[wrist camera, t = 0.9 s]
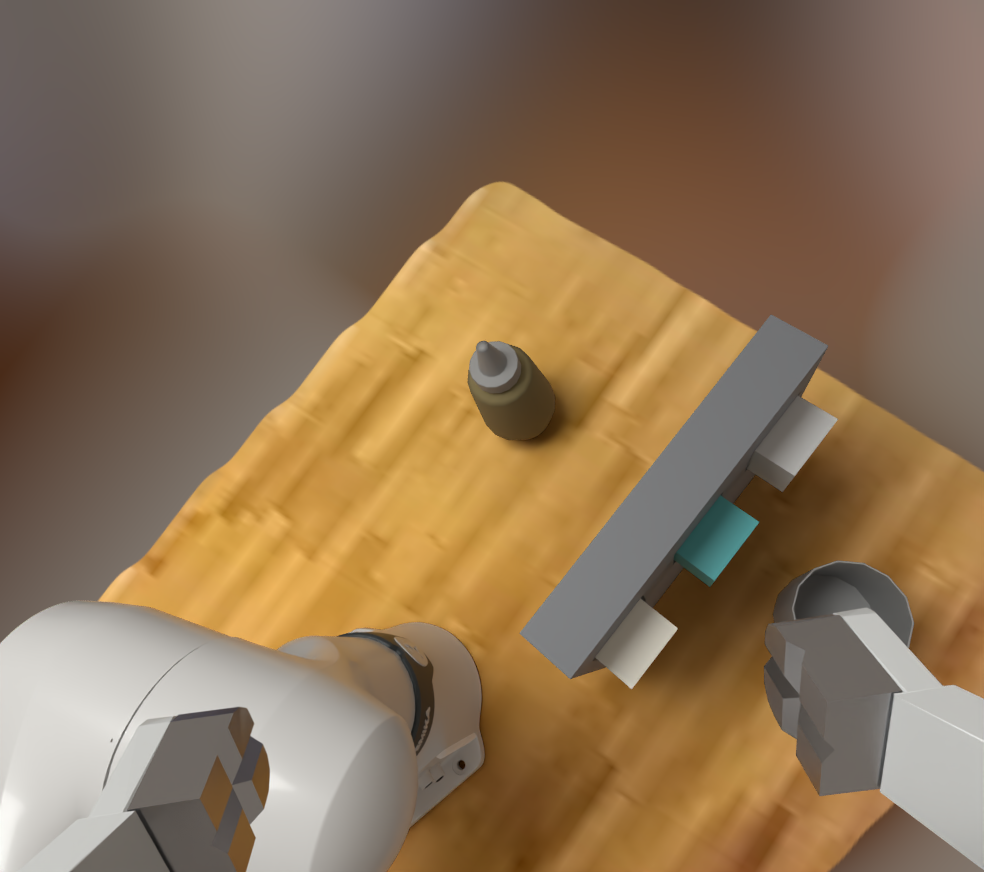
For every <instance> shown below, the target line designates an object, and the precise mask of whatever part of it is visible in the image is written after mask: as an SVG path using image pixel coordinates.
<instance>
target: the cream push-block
mask: <svg viewBox="0 0 984 872" xmlns="http://www.w3.org/2000/svg"><path fill="white" fill-rule="evenodd" d="M677 629H678V628H677V627H676V626H674V625H673V624H672V623H671V622H669V621H668V620H667V619H666V618H664V617H663V616H662V615H661V614H659V613H658V612H657V611H656V610H654V609H653V608H652V607H651V606H649V605H648V604H647V603H646V602H644V601H643V600H642V599H641V598H640V600H639V601H638V602H637V604H636V605H635V606H634V608H633V609H632V610H631V611H630V613H629V614H628V615H627V617H626V618H625V619H624V620H623V622H622V623H621V624H620V626H619V627H618V628H617V629H616V631H615V632H614V633H613V635H612V636H611V637H610V638H609V640H608V641H607V642H606V644H605V645H604V646H603V648H602V649H601V650H600V651H599V653H598V654H597V655H596V657H595V658H596V659H598V660H599V661H600V662H601V663H602V664H603V665H604V666H606V667H607V668H608V669H609V670H610V671H611V672H613V673H614V674H615V675H616V676H617V677H618V678H619V679H621V680H622V681H623V682H624V683H625V684H626V685H627V686H629V687H630V688H631V689H632V688H633V687H634V686H635V684H636V683H637V682H638V681H639V679H640V678H641V677H642V675H643V674H644V673H645V671H646V670H647V669H648V667H649V666H650V665H651V664H652V662H653V661H654V660H655V658H656V657H657V656H658V654H659V653H660V652H661V650H662V649H663V648H664V647H665V645H666V644H667V643H668V641H669V640H670V639H671V637H672V636H673V635H674V633H675V632H676V631H677Z"/></svg>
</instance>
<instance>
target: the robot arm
mask: <svg viewBox="0 0 984 872" xmlns="http://www.w3.org/2000/svg"><path fill="white" fill-rule="evenodd" d="M765 645H766V647H767V649H768V650H769V652H770V654H771V655H772V657H771V658H770V660H769V661H768V662H767V663H766V665H765V666H764V684H765V689H766V693H767V698H768V702H769V704H770V707H771V709H772V712H773V714H774V716H775V718H776V720H777V722H778V724H779V726H780V728H781V729H782V730H783V731H784V732H786V733H788V734H789V735H791V736H792V737H794V738H796V739H797V748H796V756H797V758H798V760H799V761H800V763H801V765H802V767H803V768H804V770H805V772H806V774H807V775H808V777H809V779H810V781H811V782H812V784H813V786H814V788H815V789H816V791H817V793H818V795H819V796H824V795H832V794H841V793H849V792H857V791H865V790H873V789H880V792H881V793H882V794H883V795H885V796H886V797H887V798H889V799H890V800H891V801H893V802H894V803H895V804H897V805H898V806H899V807H901V808H902V809H903V810H905V811H906V812H907V813H909V814H910V815H911V816H913V817H914V818H915V819H917V820H918V821H919V822H921V823H922V824H923V825H925V826H926V827H927V828H929V829H930V830H931V831H933V832H934V833H935V834H937V835H938V836H939V837H941V838H942V839H943V840H945V841H946V842H947V843H948V844H950V845H951V846H952V847H954V848H955V849H956V850H958V851H959V852H961V853H962V854H963V855H964V856H966V857H967V858H968V859H970V860H971V861H973V862H974V863H975V864H976V865H978V866H979V867H980V868H982V869H983V870H984V699H983V698H981V697H979V696H977V695H974V694H972V693H970V692H968V691H966V690H964V689H962V688H959V687H957V686H955V685H949V686H943V685H942V684H941V683H940V682H939V681H938V680H937V679H936V678H935V677H934V676H933V674H932V673H931V672H930V671H929V670H928V669H927V668H926V667H925V666H924V665H923V664H922V662H921V661H920V660H919V659H918V658H917V657H916V656H915V655H914V654H913V653H912V652H911V651H910V649H909V648H908V647H907V646H906V645H905V644H904V643H903V642H902V641H901V640H900V639H899V637H898V636H897V635H896V634H895V633H894V632H893V631H892V630H891V629H890V628H889V627H888V626H887V624H886V623H885V622H884V621H883V620H882V619H881V618H880V617H879V616H878V615H877V614H876V612H875V611H873V610H871V609H869V608H861V609H855V610H849V611H843V612H837V613H834V614H826V615H820V616H814V617H808V618H802V619H796V620H790V621H784V622H778V623H772V624H768V626H767V629H766V631H765ZM481 700H482V694H481V684H480V679H479V675H478V671H477V668H476V666H475V663H474V661H473V659H472V657H471V655H470V654H469V652H468V651H467V649H466V648H465V647H464V645H463V644H462V643H461V642H460V641H459V640H458V639H457V638H456V637H455V636H453V635H452V634H451V633H449V632H448V631H446V630H444V629H442V628H440V627H438V626H435V625H432V624H427V623H420V622H413V623H405V624H401V625H397V626H394V627H391V628H388V629H383V630H379V629H372V628H359V629H355V630H353V631H352V632H350V633H346V634H343V635H339V636H337V637H335V636H305V637H301V638H298V639H295V640H292V641H290V642H288V643H286V644H284V645H282V646H281V647H280V648H278V649H277V650H274V649H271V648H268V647H265V646H262V645H258V644H255V643H252V642H249V641H247V640H244V639H241V638H237V637H230V636H228V635H225V634H222V633H220V632H217V631H214V630H211V629H209V628H206V627H203V626H201V625H198V624H195V623H192V622H190V621H187V620H184V619H182V618H179V617H176V616H173V615H171V614H168V613H165V612H162V611H160V610H157V609H154V608H151V607H144V606H136V605H129V604H121V603H113V602H99V601H83V600H80V601H70V602H65V603H61V604H58V605H55V606H52V607H50V608H47V609H45V610H43V611H41V612H40V613H38V614H36V615H34V616H32V617H31V618H29V619H28V620H27V621H25V622H24V623H22V624H21V625H20V626H18V627H17V628H16V629H15V630H14V631H12V632H11V633H10V634H9V635H8V636H7V637H6V638H5V639H4V640H3V641H2V642H1V643H0V872H387V871H388V869H389V868H390V866H391V865H392V863H393V862H394V860H395V859H396V857H397V855H398V853H399V851H400V849H401V847H402V845H403V843H404V841H405V838H406V836H407V834H408V831H409V828H410V827H411V826H412V825H414V824H415V823H416V822H417V821H418V820H419V819H421V818H422V817H423V816H424V815H425V814H426V813H428V812H429V811H430V810H431V809H432V808H433V807H435V806H436V805H437V804H438V803H439V802H440V801H442V800H443V799H444V798H445V797H446V796H447V795H449V794H450V793H451V792H452V791H453V790H454V789H456V788H457V787H458V786H459V785H460V784H461V783H463V782H464V781H465V780H466V779H467V778H468V777H470V776H471V775H472V774H473V773H474V772H475V771H477V770H478V769H479V768H480V767H481V766H482V764H483V762H484V758H485V752H484V746H483V741H482V737H481V733H480V729H479V721H480V712H481ZM460 760H463V761H464V762H465V768H464V769H462V768H460V766H459V761H460Z"/></svg>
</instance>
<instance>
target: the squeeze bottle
mask: <svg viewBox="0 0 984 872" xmlns="http://www.w3.org/2000/svg"><path fill="white" fill-rule="evenodd" d="M468 385H469V388H470V391H471V394H472V396H473V398H474V400H475V402H476V404H477V407H478V409H479V411H480V413H481V415H482V417H483V419H484V421H485V423H486V425H487V426H488V427H489V428H490V429H491V430H492V432H493V433H494V434H495V435H498V436H500V437H502V438H505V439H507V440H529V439H531V438H534V437H536V436H538V435H539V434H541V433H542V432H543V431H544V430H545V429H546V427H547V425H548V424H549V422H550V419H551V417H552V415H553V413H554V411H555V395H554V392H553V390H552V387H551V385H550V383H549V382H548V380H547V379H546V378H545V377H544V375H543V374H542V373H541V371H540V370H539V369H538V368H537V366H536V365H535V364H534V362H533V361H532V360H531V359H530V357H529V356H528V355H527V354H526V353H525V352H524V351H522V350H521V349H520V348H518V347H515V346H512V345H509V344H506V343H503V342H500V341H499V342H489V343H488V342H486V341H481V342H479V343H478V344H477V346H476V351H475V352H474V354H473V356H472V358H471V360H470V366H469V372H468Z"/></svg>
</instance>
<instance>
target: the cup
mask: <svg viewBox="0 0 984 872" xmlns="http://www.w3.org/2000/svg"><path fill="white" fill-rule="evenodd" d="M861 608H869V609H871V610H873V611H875V612H876V614H877V615H878V616H879V617H880V618H881V619H882V620H883V621H884V622H885V623H886V624H887V626H888V627H889V628H890V629H891V630H892V631H893V632H894V633H895V634H896V635H897V636H898V637H899V639H900V640H901V641H902V642H903V643H904V644H905V645H906V646H907V647H908V648H909V645H910V640H911V635H912V631H913V626H914V621H913V617H912V614H911V610H910V607H909V603H908V600H907V597H906V596H905V595H904V594H903V592H902V591H901V590H900V589H899V588H898V586H897V585H896V584H895V583H894V582H893V581H892V579H891V578H890V577H889V576H888V575H886V574H884V573H882V572H880V571H878V570H876V569H874V568H872V567H870V566H868V565H867V564H865V563H858V562H847V561H835V562H832V563H829V564H826V565H823V566H820V567H817V568H814V569H812V570H810V571H808V572H807V573H805V574H803V575H801V576H799V577H797V578H795V579H793V580H792V581H791V582H790V583H789V584H788V585H787V586H786V587H785V588H784V589H783V590H782V591H781V592H780V593H779V594H778V597H777V600H776V604H775V608H774V612H773V617H774V622H775V623H778V622H784V621H790V620H796V619H802V618H808V617H814V616H820V615H826V614H834V613H837V612H843V611H849V610H855V609H861Z"/></svg>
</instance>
